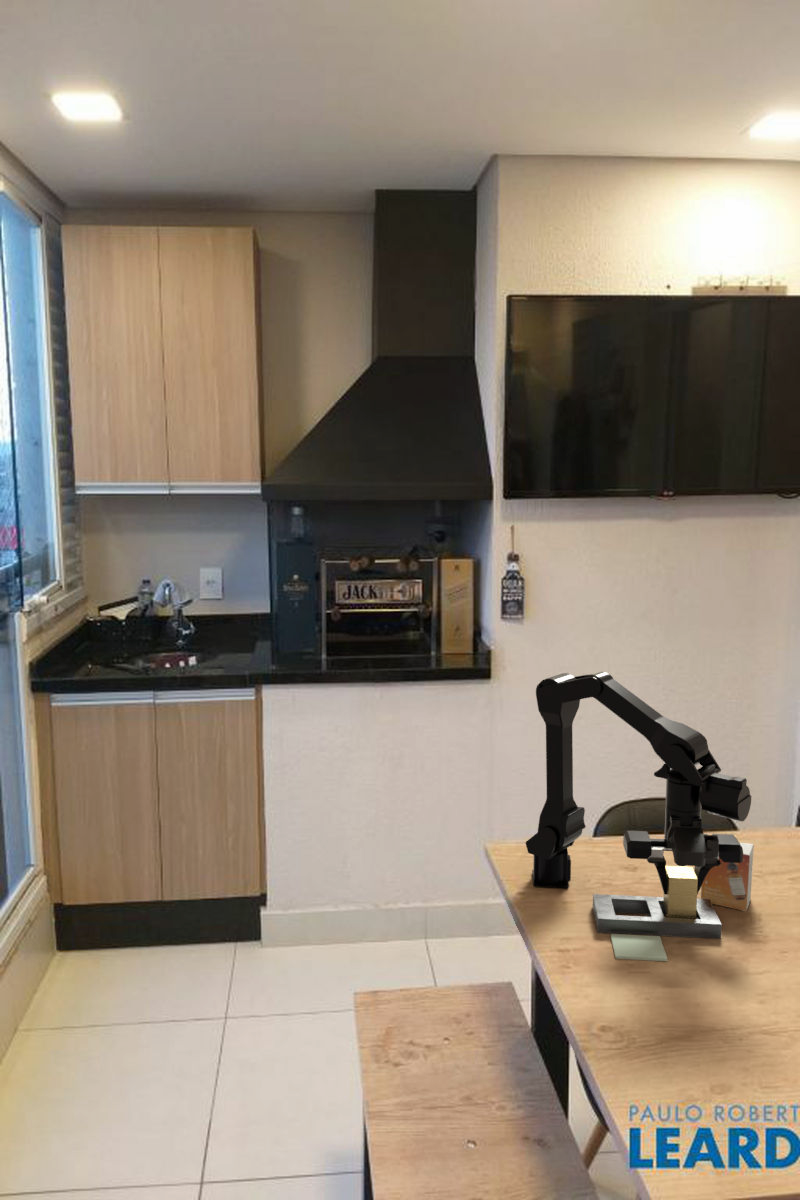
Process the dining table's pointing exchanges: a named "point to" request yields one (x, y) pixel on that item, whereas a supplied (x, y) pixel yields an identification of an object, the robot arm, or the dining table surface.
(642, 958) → the mat
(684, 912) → the block
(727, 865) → the small box
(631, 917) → the grey flat rectangular frame
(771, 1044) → the dining table surface
